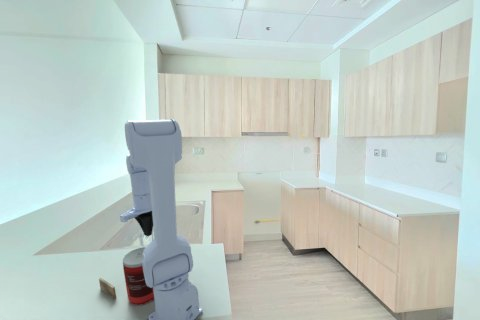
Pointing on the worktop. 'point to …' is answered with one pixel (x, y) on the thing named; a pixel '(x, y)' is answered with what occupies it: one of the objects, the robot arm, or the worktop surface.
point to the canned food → (136, 278)
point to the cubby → (107, 287)
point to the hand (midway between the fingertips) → (148, 234)
